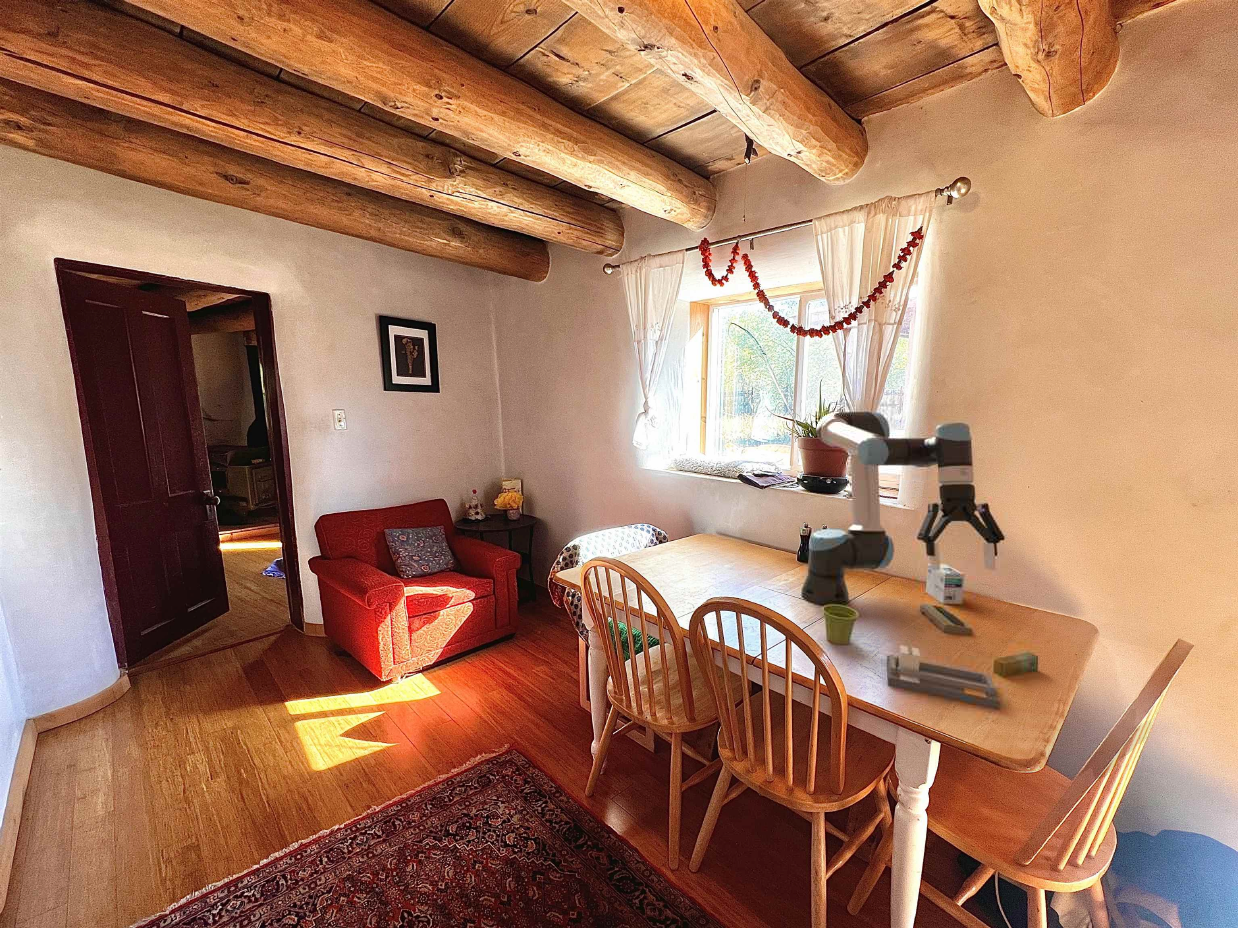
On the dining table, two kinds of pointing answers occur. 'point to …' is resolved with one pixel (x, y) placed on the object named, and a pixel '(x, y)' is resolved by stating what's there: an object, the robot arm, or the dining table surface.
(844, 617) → the plant pot
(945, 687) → the grey tray
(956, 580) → the light bulb box
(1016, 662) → the medication box
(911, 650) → the white cardboard box
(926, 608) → the computer
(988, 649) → the dining table surface
